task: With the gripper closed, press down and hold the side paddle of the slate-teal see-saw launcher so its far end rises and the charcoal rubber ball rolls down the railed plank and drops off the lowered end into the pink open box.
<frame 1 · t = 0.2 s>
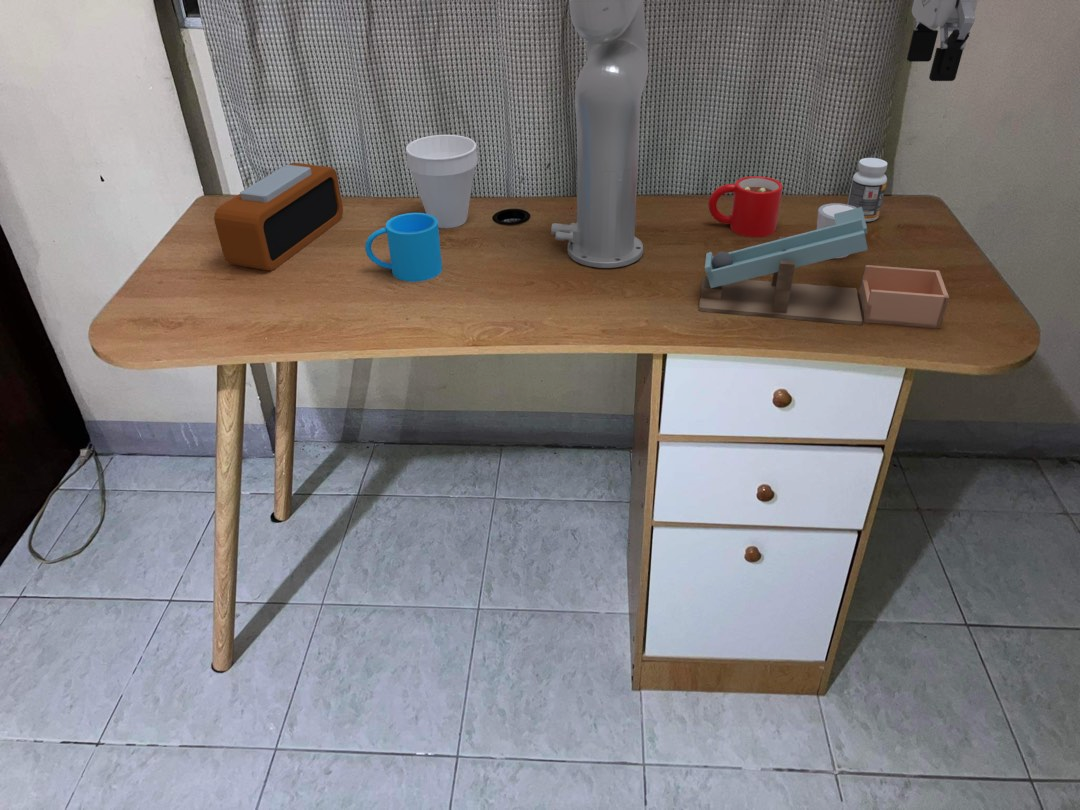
hand: (929, 70, 113), 31 cm above the table, fingers open, 9 cm apart
launcher base: (778, 301, 124), on the table
alarm clock: (289, 242, 145), on the table
white cylinder: (831, 251, 138), on the table
mug: (405, 271, 135), on the table
pill bottle: (861, 217, 149), on the table
pink open box: (897, 311, 121), on the table
ball: (722, 261, 123), point 6 cm above the table, tilted 6°, touching lever
lever: (784, 240, 122), point 8 cm above the table, hinge at -21.0°, touching ball
mug 2: (740, 228, 146), on the table
white flower pot: (448, 221, 151), on the table
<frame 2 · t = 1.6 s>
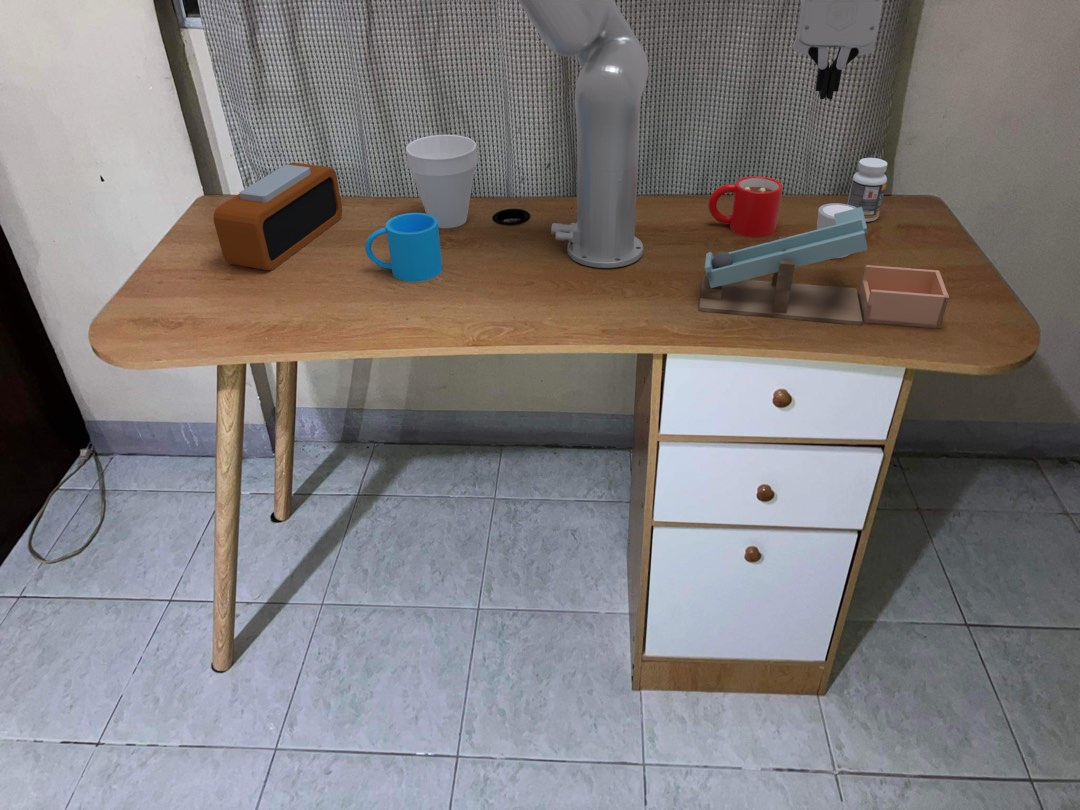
hand: (825, 96, 117), 27 cm above the table, fingers closed
nothing on the table moved.
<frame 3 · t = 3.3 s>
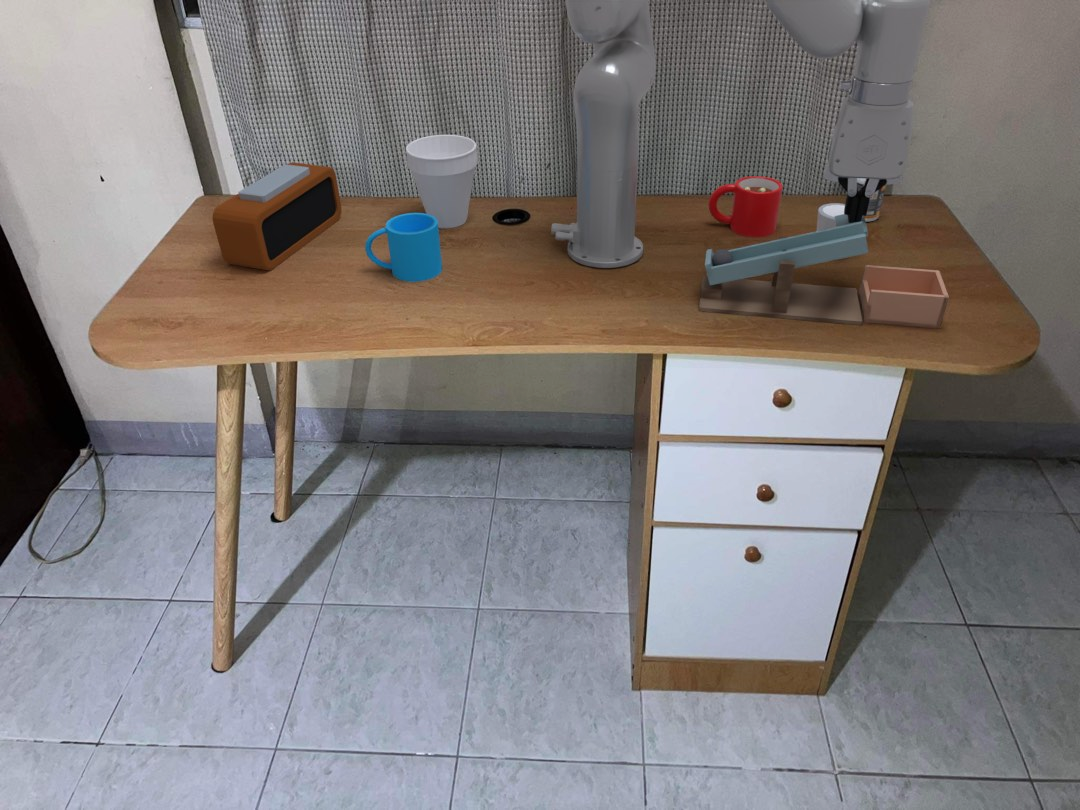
hand: (853, 219, 122), 11 cm above the table, fingers closed
lever: (785, 240, 122), point 8 cm above the table, hinge at -18.4°, touching ball, gripper
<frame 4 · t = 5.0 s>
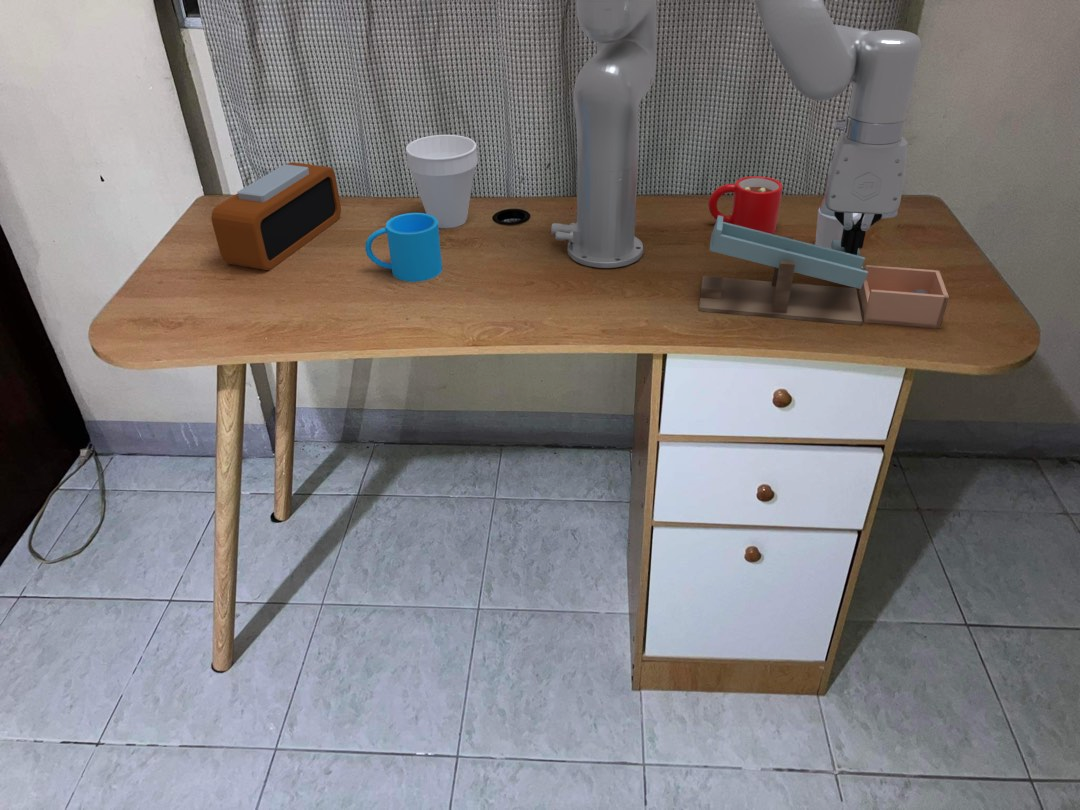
hand: (850, 251, 125), 6 cm above the table, fingers closed
ball: (919, 300, 120), point 2 cm above the table, tilted 94°, touching pink open box
lever: (789, 241, 122), point 8 cm above the table, hinge at 11.0°, touching gripper
everything else where it was.
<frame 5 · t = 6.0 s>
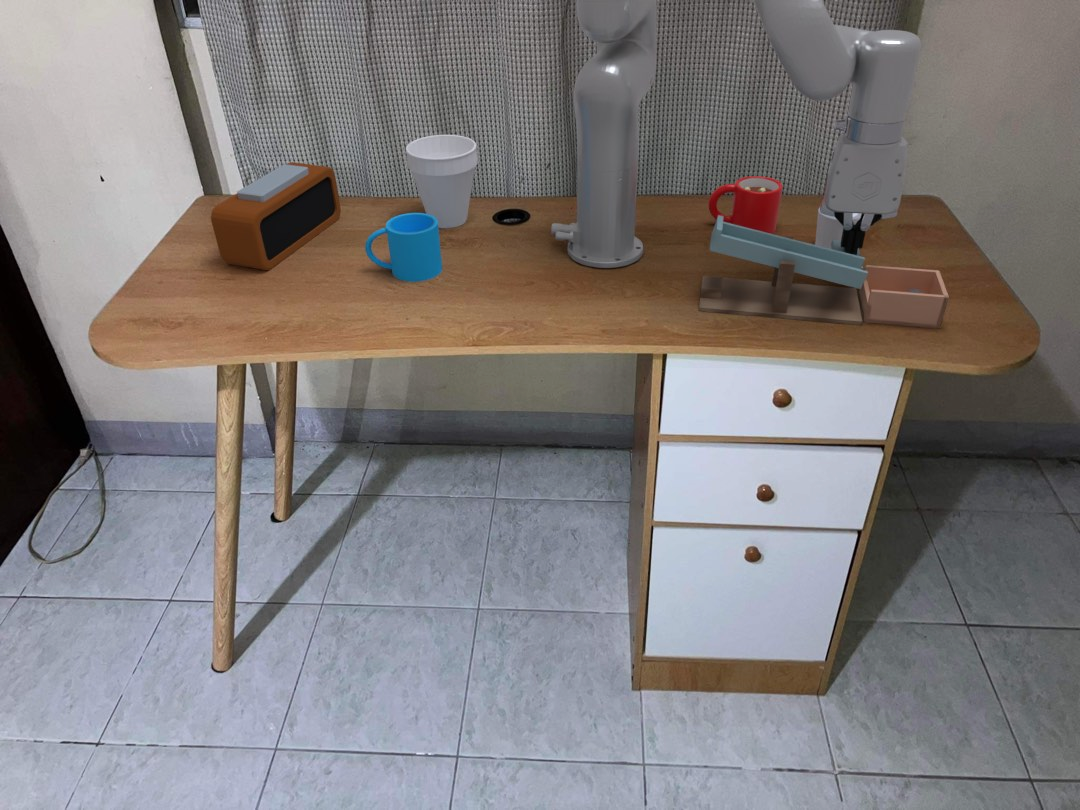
hand: (850, 251, 125), 6 cm above the table, fingers closed
ball: (913, 299, 120), point 2 cm above the table, tilted 65°, touching pink open box
everything else where it was.
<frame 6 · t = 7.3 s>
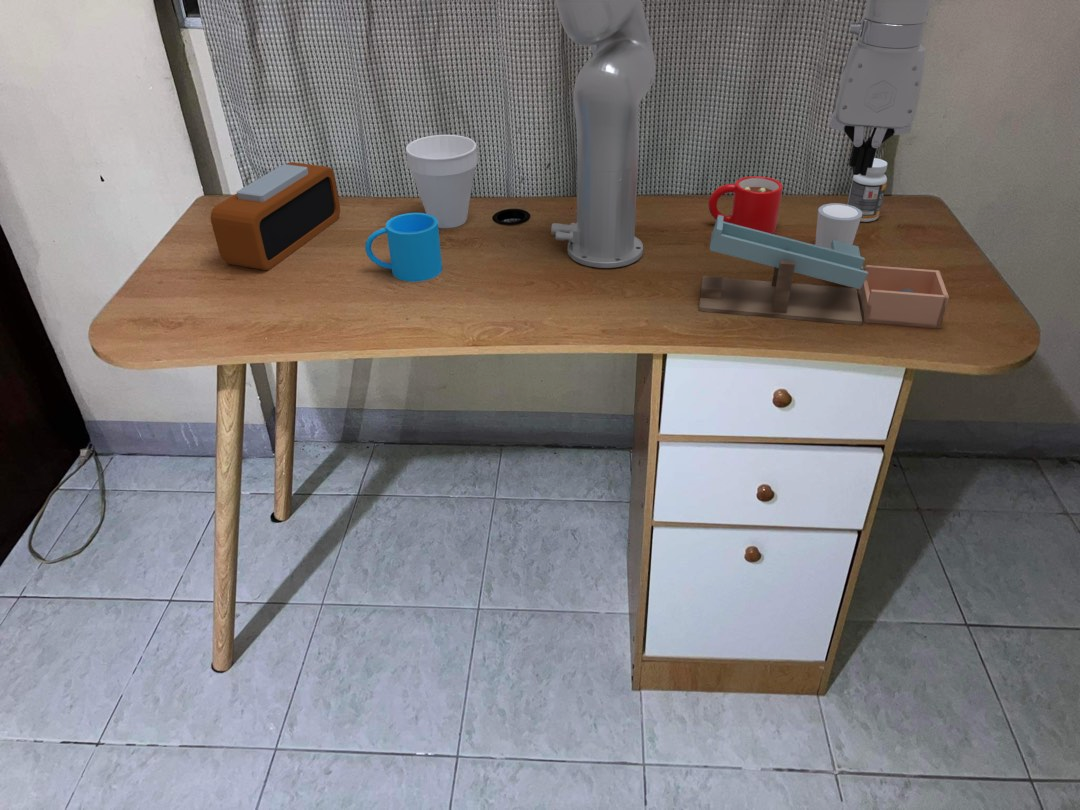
hand: (858, 171, 118), 18 cm above the table, fingers closed
ball: (906, 299, 120), point 2 cm above the table, tilted 27°, touching pink open box
lever: (789, 241, 122), point 8 cm above the table, hinge at 11.3°
everything else where it was.
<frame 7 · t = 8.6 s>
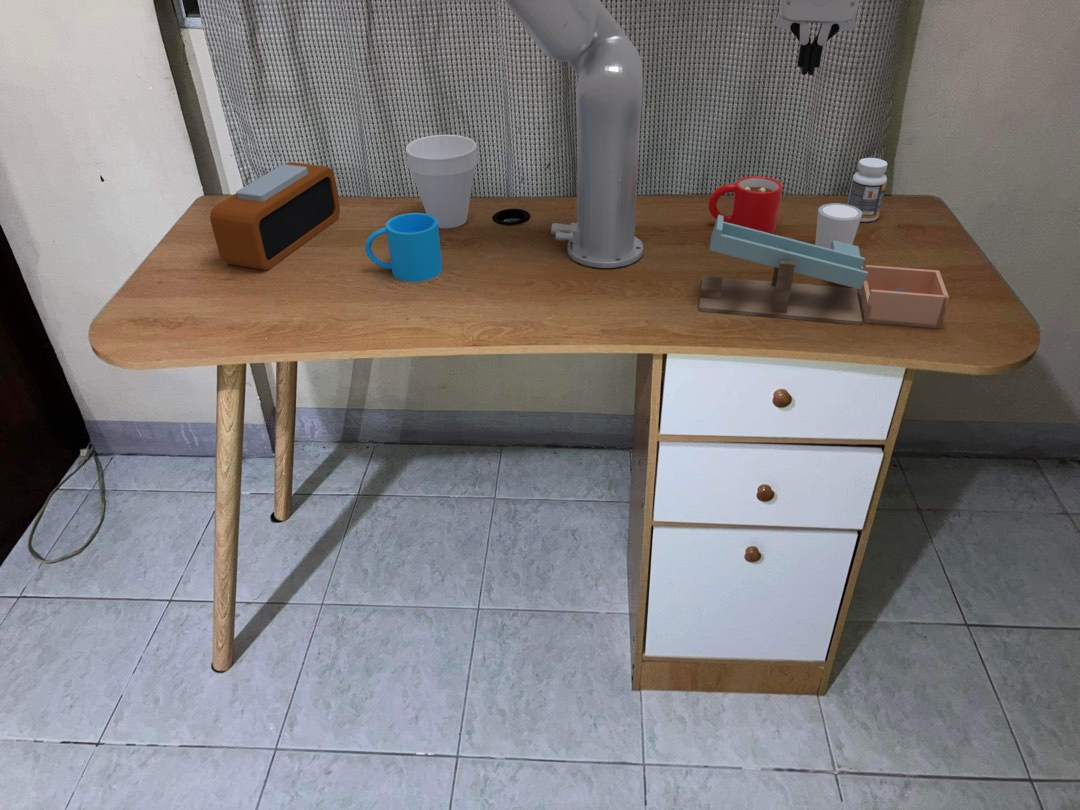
hand: (807, 72, 119), 29 cm above the table, fingers closed
ball: (898, 298, 120), point 2 cm above the table, tilted 11°, touching pink open box
everything else where it was.
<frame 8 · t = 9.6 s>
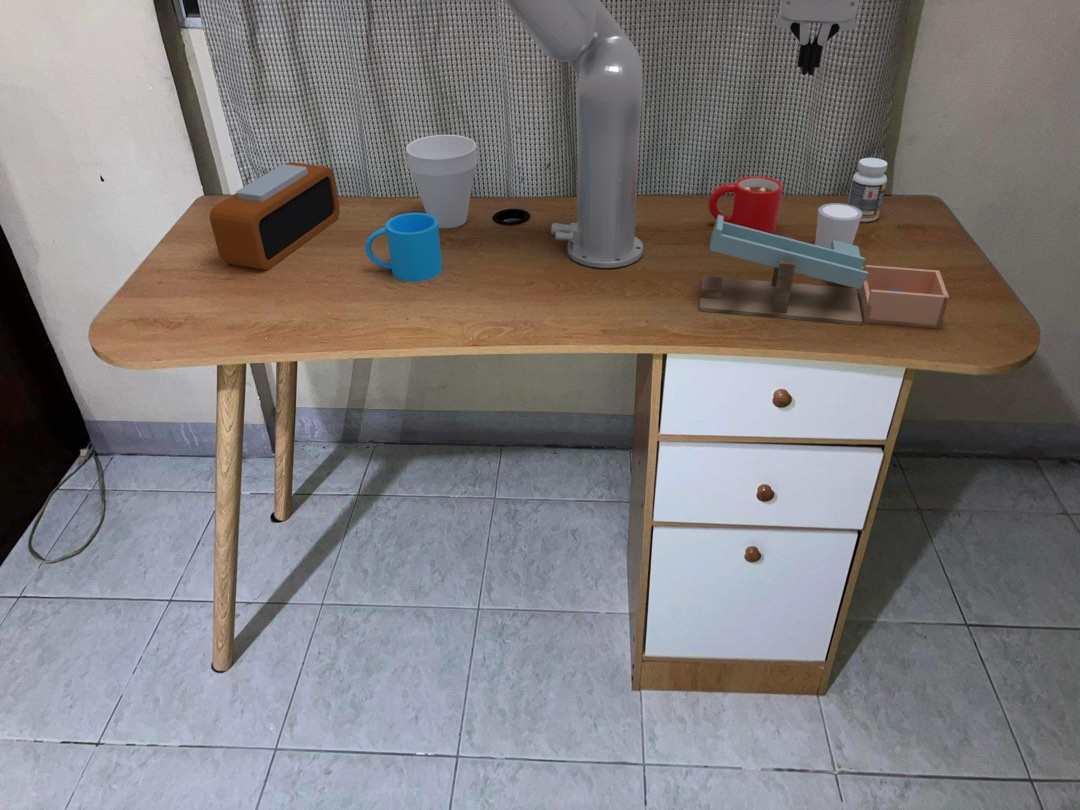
hand: (807, 72, 119), 29 cm above the table, fingers closed
ball: (893, 298, 120), point 2 cm above the table, tilted 41°, touching pink open box
everything else where it was.
at the end: ball inside the target area on the pink open box (1.1 cm from its centre), point 2.1 cm above the pink open box's base; lever at +11° (first picture: -21°) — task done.
